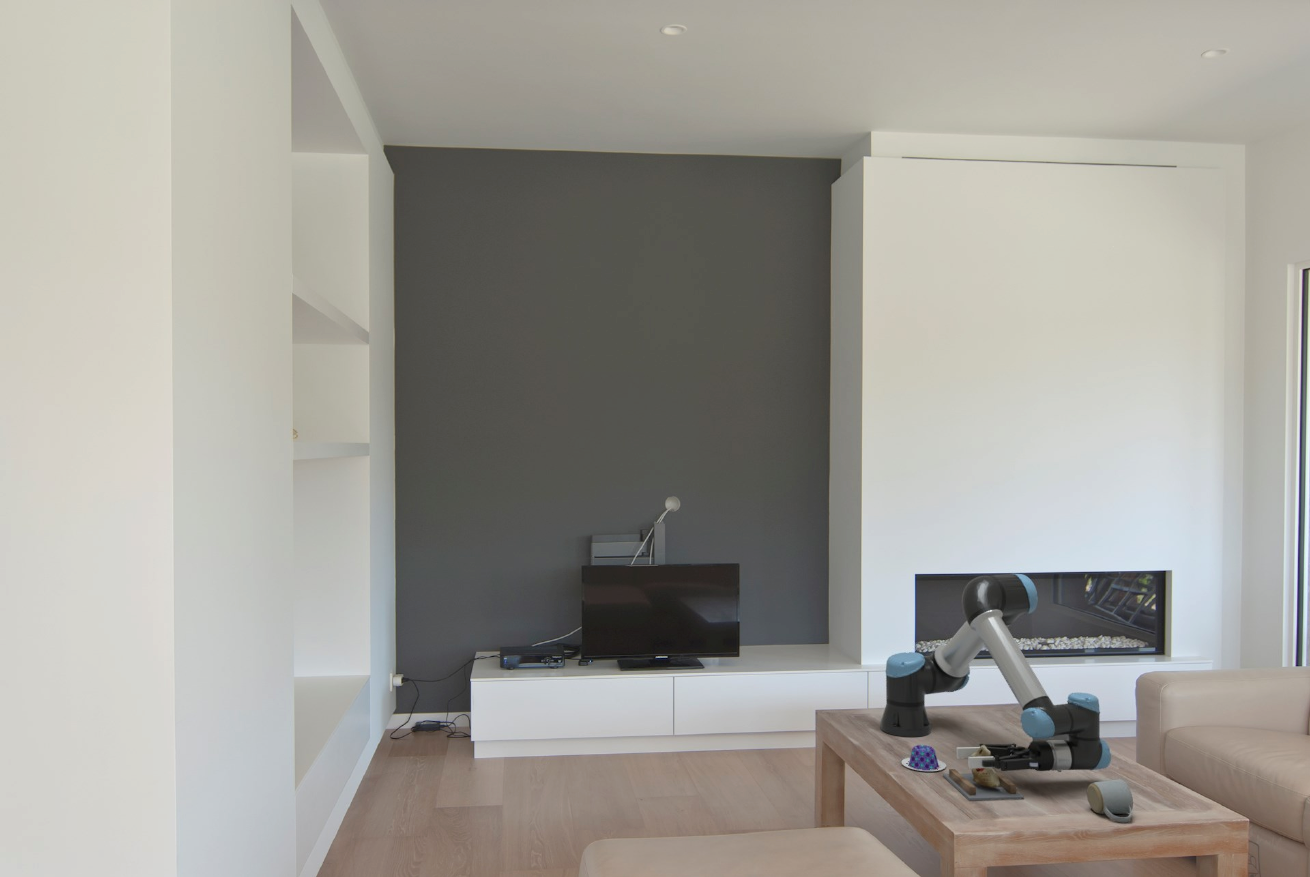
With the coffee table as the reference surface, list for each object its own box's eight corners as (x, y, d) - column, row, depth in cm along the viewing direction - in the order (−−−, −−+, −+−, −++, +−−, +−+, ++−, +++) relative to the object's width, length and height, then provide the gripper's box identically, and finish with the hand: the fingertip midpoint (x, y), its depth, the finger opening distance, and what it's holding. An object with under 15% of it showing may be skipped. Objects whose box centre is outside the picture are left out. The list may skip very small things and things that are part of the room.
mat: (942, 776, 255) (942, 774, 255) (993, 774, 256) (993, 772, 256) (969, 800, 237) (969, 798, 237) (1023, 799, 238) (1023, 796, 238)
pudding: (895, 760, 269) (895, 741, 269) (935, 758, 270) (935, 740, 270) (910, 774, 257) (910, 755, 257) (953, 773, 258) (953, 753, 259)
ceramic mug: (1084, 807, 233) (1084, 776, 233) (1116, 806, 233) (1116, 774, 233) (1108, 824, 222) (1108, 792, 222) (1142, 823, 223) (1141, 791, 223)
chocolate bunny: (988, 777, 249) (987, 739, 249) (1002, 787, 241) (1002, 747, 241) (968, 778, 248) (967, 740, 249) (982, 788, 240) (981, 748, 241)
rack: (949, 776, 253) (949, 768, 253) (992, 775, 254) (992, 767, 254) (970, 795, 239) (970, 787, 239) (1016, 794, 240) (1016, 786, 240)
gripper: (1067, 783, 238) (978, 785, 236) (1030, 757, 258) (948, 759, 256) (1067, 753, 238) (978, 755, 236) (1030, 730, 258) (948, 732, 256)
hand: (963, 757), depth 246 cm, fingers open, 7 cm apart
